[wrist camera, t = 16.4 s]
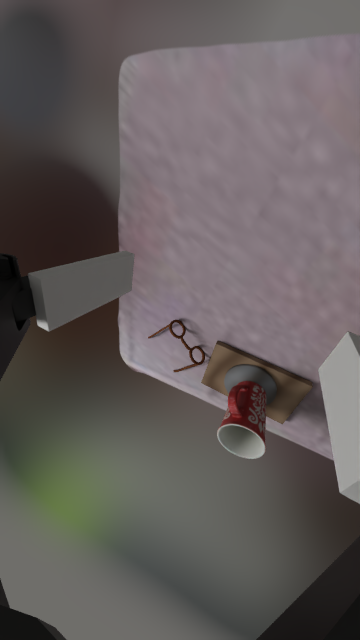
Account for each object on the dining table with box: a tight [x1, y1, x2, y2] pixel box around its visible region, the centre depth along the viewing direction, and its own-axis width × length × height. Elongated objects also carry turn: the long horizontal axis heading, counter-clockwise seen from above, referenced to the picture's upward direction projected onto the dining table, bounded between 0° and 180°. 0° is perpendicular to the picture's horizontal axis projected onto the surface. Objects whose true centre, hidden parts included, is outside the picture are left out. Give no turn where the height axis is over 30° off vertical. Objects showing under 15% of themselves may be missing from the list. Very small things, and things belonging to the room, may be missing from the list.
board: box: [201, 341, 313, 424], centre depth 51 cm, size 22×14×2 cm, turn 76°
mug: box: [217, 381, 267, 459], centre depth 45 cm, size 13×9×14 cm
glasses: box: [148, 320, 205, 372], centre depth 57 cm, size 13×13×5 cm
